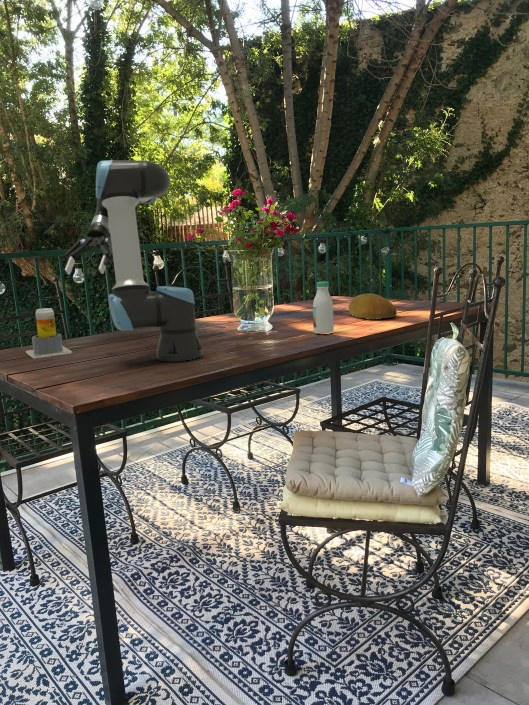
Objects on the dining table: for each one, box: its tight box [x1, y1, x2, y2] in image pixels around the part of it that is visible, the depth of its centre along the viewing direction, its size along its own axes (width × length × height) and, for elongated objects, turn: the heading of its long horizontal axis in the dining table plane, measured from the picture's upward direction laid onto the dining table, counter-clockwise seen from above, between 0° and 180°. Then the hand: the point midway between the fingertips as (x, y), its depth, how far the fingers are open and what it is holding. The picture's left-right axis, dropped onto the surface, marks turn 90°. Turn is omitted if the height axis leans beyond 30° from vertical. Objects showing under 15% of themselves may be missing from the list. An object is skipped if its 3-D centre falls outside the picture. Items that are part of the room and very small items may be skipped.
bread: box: [348, 292, 398, 320], centre depth 266 cm, size 18×35×10 cm, turn 9°
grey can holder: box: [25, 332, 73, 360], centre depth 207 cm, size 13×13×6 cm
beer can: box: [35, 307, 57, 338], centre depth 206 cm, size 6×6×15 cm
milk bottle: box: [312, 281, 334, 334], centre depth 222 cm, size 8×8×20 cm
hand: (84, 271), depth 213 cm, fingers open, 13 cm apart
